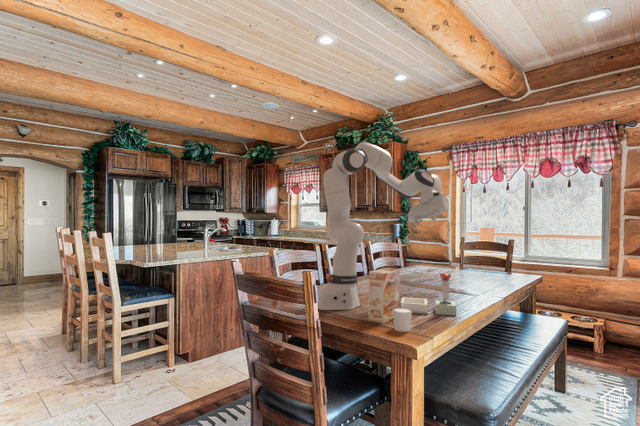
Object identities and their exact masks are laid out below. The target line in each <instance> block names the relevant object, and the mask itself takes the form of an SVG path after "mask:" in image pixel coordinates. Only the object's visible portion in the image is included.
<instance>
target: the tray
mask: <svg viewBox="0 0 640 426" xmlns="http://www.w3.org/2000/svg"><path fill="white" fill-rule="evenodd" d="M400 308H405V309H409V310H411V311H412V314H417V315H418V314H419V315H428V298H418V297H403V296H402V297H401V301H400Z"/></svg>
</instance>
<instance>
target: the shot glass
mask: <svg viewBox="0 0 640 426" xmlns="http://www.w3.org/2000/svg"><path fill="white" fill-rule="evenodd" d="M412 314H413V313H412V311H411V310H409V309H405V308H401V307H399V308H396V309H393V326H394V328H393V329H394V330H395V331H396V332H400V333H407V332H410V331H411V324H412Z"/></svg>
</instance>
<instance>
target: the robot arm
mask: <svg viewBox="0 0 640 426" xmlns="http://www.w3.org/2000/svg"><path fill="white" fill-rule="evenodd" d="M392 166H393V157H392V155H391V153H390V152H388V151H387V150H386V149H383V148H381V147H379V146H378V145H376V144H373V143H369V142H367V141H362V142H359V143H358V144H357V145H356V146H355V148H351V149H349V150H344V151H341V152H339V153H338V154H336V155H335V156H333V158H332V160H331V163H330V167H329V169H326V171H325V172H324V173H323V178H322V179H323V180H322V181H323V191H324V196H325V201H326V207H327V213H328V214H327V215H328V216H327V224H328V225H327V228H326V229H327V230H326V235H327V236H328V238H329V240H330V241H332V242H333V243H335V244H336V248H335V251H334V255H333V256H332V273H331V275H330V274H326V275H325V278H326V279H327V280H328V282H326V284H325V285H323V287H321V288H320V289H318V290H317V292H318V308H319V311H337V310H338V311H339V310H340V311H342V310H343V311H344V310H345V311H347V310H350V311H352V310H354V309H355V308H358V307H360V305H361V304H360V299H359V294H358V284H359V283H358V281H359V279H358V274H357V260H358V258H357V257H358V252H359V249H360V244H361V243H362V241H363V240H364V237H365V230H364V227H363V226H362V225H360V224H359V223H357V222H355V221H351V220H350V212H351V209H352V202H351V197H350V191H349V187H348V176H349V175H354V174H356V173H358V172H360V171H361V170H362V169H364V168H365V167H366V168H368V169H370V170H371V171H374V175H375V177H376V179H378V180H380V181H381V182H382V183H383V184H385V185H386V186H388V187H389V188H390V189H392V190H394V191H395V192H397V194H398V195H399V196H401V198H403V199H406V200H410V199H413V198H414V197H415V196H416V195H417V194H419V193H421V195H420V198H419V199H420V200H419V203H418V204H417V205H414V206H411V208H410V209H409V211H408V214H407V219H408V220H409V221H410V222H413V225H415V227H416V226H419V221H420V220H423V219H426V218H430V217H431V218H430V219H431V220H432V221H433V222H435V221H437V218H438V217H439V216H440V214H444V213H446V212H448V210H449V199H448V198H447V197H446V196H445V194H444V193H443V192H442V180H441V178H440V176H438V175H437V174H431V173H430V172H428V171H426V170H424V169H421V168H420V169H418V168H417V169H416V170H415V171H413V172H412V173H410V175H408V176H407V177H406V178H405V179H398V178H397V177H396V176H394V175H393V174H392V173H391V172H390V171H391V170H392V169H391V168H392Z"/></svg>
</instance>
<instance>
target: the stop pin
mask: <svg viewBox="0 0 640 426" xmlns="http://www.w3.org/2000/svg"><path fill="white" fill-rule="evenodd" d="M439 278H440V279H441V301H442V304H449V301H450V279H451V278H452V274H451V273H440V274H439Z"/></svg>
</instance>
